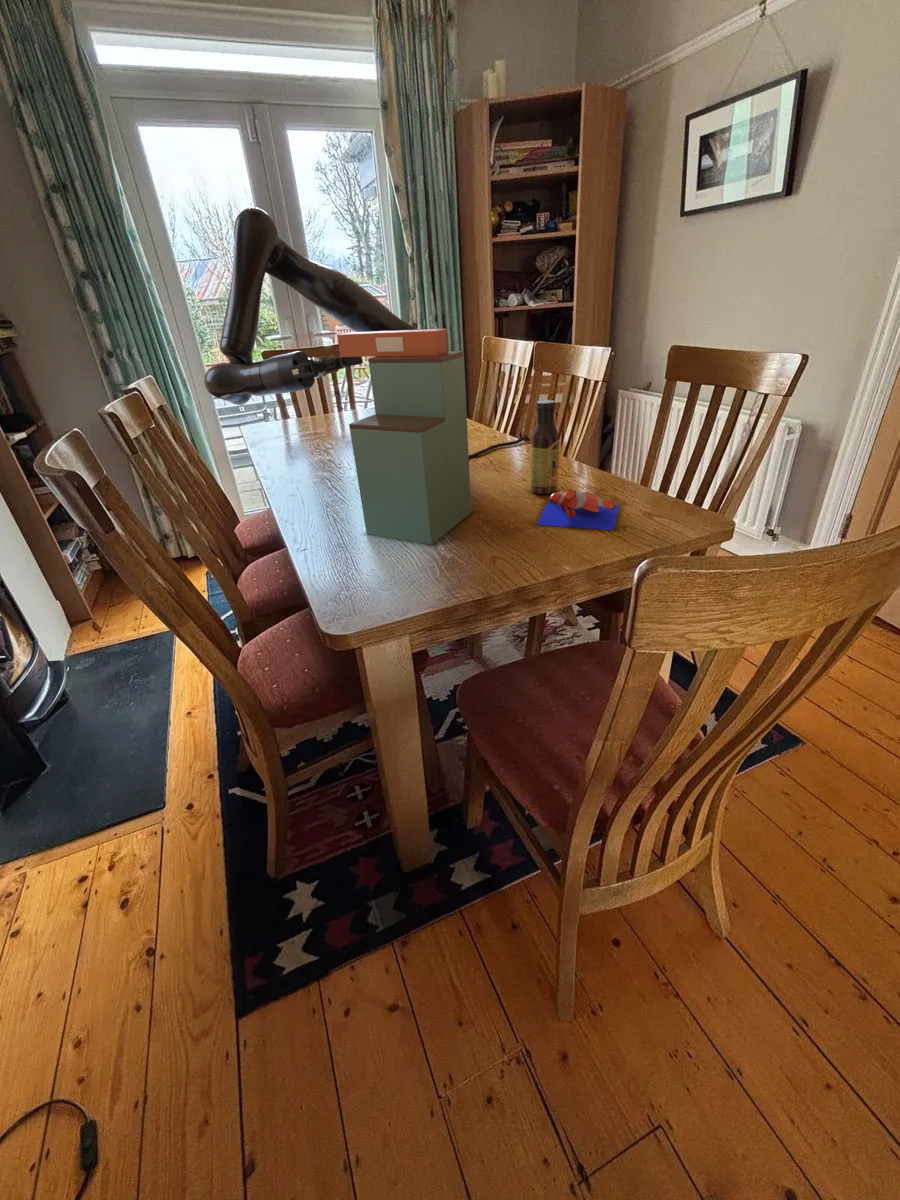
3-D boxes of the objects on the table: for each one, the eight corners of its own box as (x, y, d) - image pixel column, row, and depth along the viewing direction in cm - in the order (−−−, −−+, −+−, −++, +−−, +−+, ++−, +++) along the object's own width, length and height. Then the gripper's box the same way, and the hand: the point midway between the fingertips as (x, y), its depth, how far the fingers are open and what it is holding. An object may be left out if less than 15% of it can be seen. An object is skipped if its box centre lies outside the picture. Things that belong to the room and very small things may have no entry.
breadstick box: (340, 357, 104) (336, 334, 102) (352, 354, 107) (349, 332, 105) (437, 355, 94) (435, 330, 92) (448, 352, 97) (446, 328, 95)
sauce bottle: (557, 495, 120) (560, 404, 110) (529, 495, 121) (530, 405, 111) (557, 486, 126) (561, 398, 115) (531, 486, 127) (532, 399, 117)
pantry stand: (366, 534, 109) (339, 365, 92) (411, 504, 122) (394, 352, 105) (431, 545, 102) (415, 364, 85) (471, 512, 115) (463, 351, 98)
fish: (547, 495, 106) (554, 481, 112) (546, 517, 108) (553, 502, 115) (614, 498, 102) (617, 484, 108) (612, 521, 104) (615, 505, 111)
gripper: (261, 358, 107) (328, 343, 101) (300, 351, 119) (362, 337, 113) (273, 396, 110) (339, 384, 104) (310, 386, 122) (371, 375, 116)
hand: (351, 360), depth 108 cm, fingers open, 8 cm apart
